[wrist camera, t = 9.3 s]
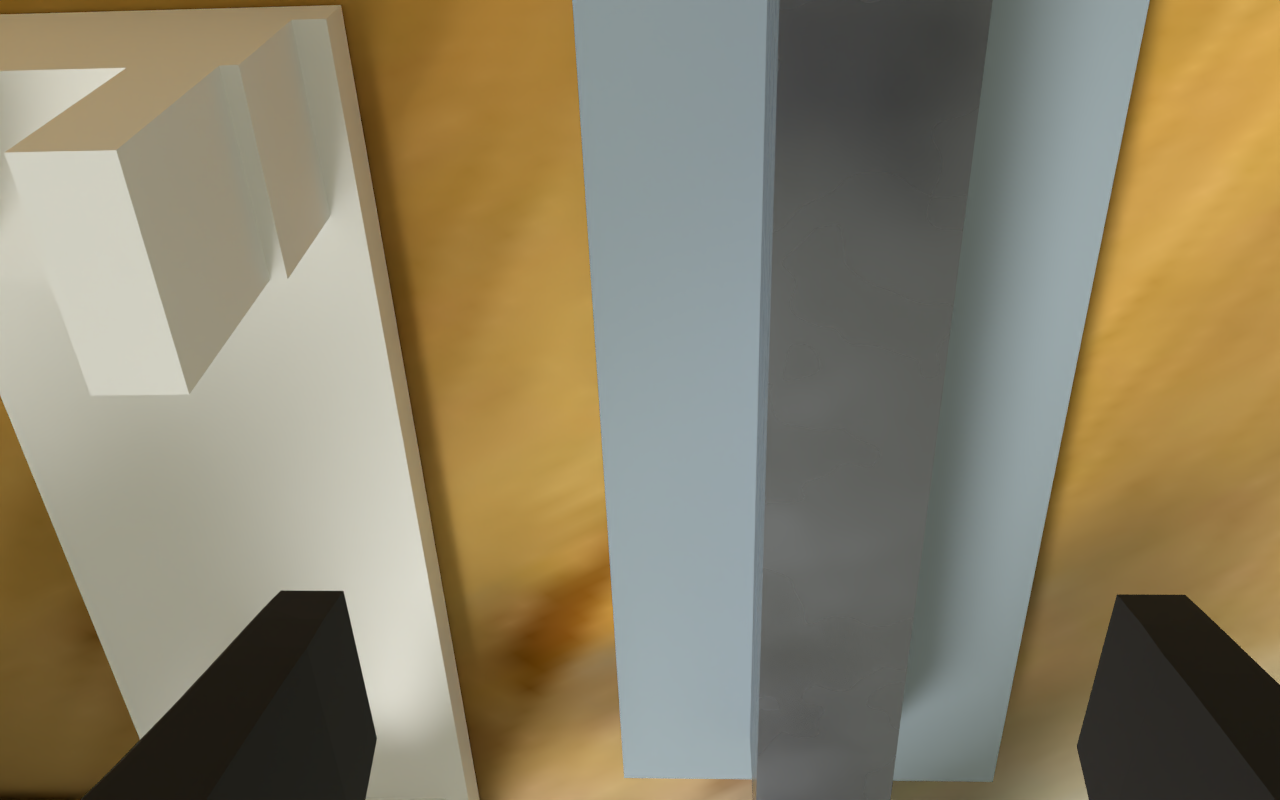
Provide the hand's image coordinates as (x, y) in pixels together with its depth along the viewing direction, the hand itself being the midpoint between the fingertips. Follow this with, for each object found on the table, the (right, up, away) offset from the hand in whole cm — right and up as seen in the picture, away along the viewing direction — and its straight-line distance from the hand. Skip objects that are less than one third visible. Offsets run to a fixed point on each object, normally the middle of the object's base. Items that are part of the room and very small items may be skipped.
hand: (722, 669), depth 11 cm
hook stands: (-8, 0, +11) cm, 14 cm away
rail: (+2, +5, +7) cm, 9 cm away
